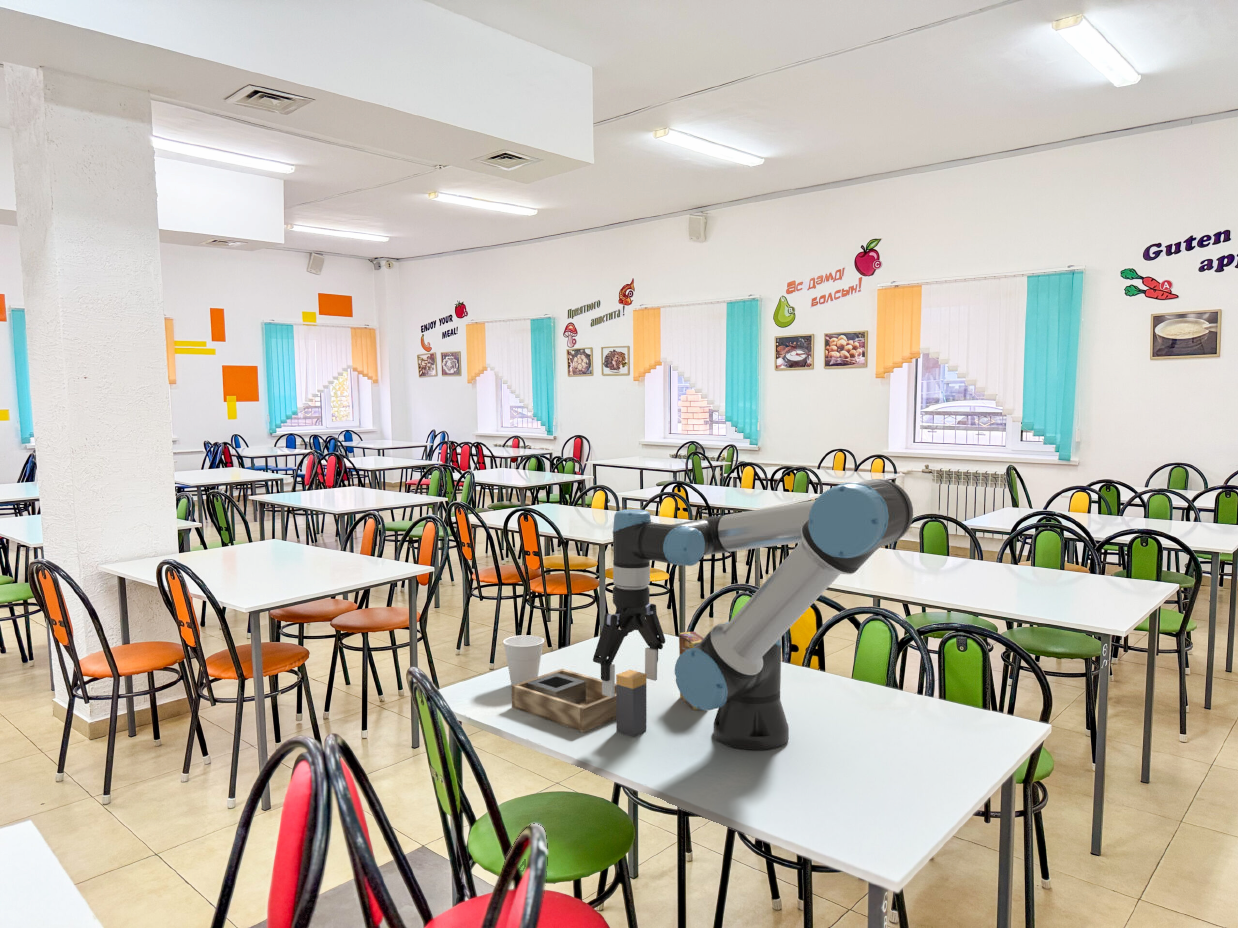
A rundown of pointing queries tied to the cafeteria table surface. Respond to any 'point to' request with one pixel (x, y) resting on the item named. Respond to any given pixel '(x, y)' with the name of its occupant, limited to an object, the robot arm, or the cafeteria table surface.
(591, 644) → the cafeteria table surface
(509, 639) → the cup
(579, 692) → the frame
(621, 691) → the connector
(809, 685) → the cafeteria table surface
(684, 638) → the candy box
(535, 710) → the tray
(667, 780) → the cafeteria table surface
